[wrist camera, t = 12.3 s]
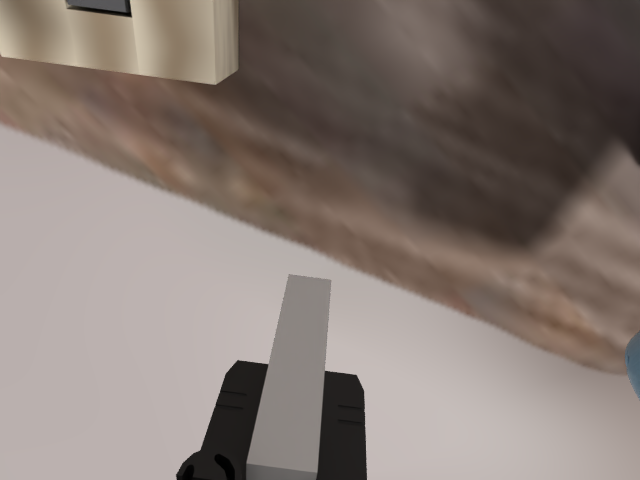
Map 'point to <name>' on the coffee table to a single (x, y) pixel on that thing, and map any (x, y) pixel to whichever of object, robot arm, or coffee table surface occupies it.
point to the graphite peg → (104, 4)
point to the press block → (127, 37)
